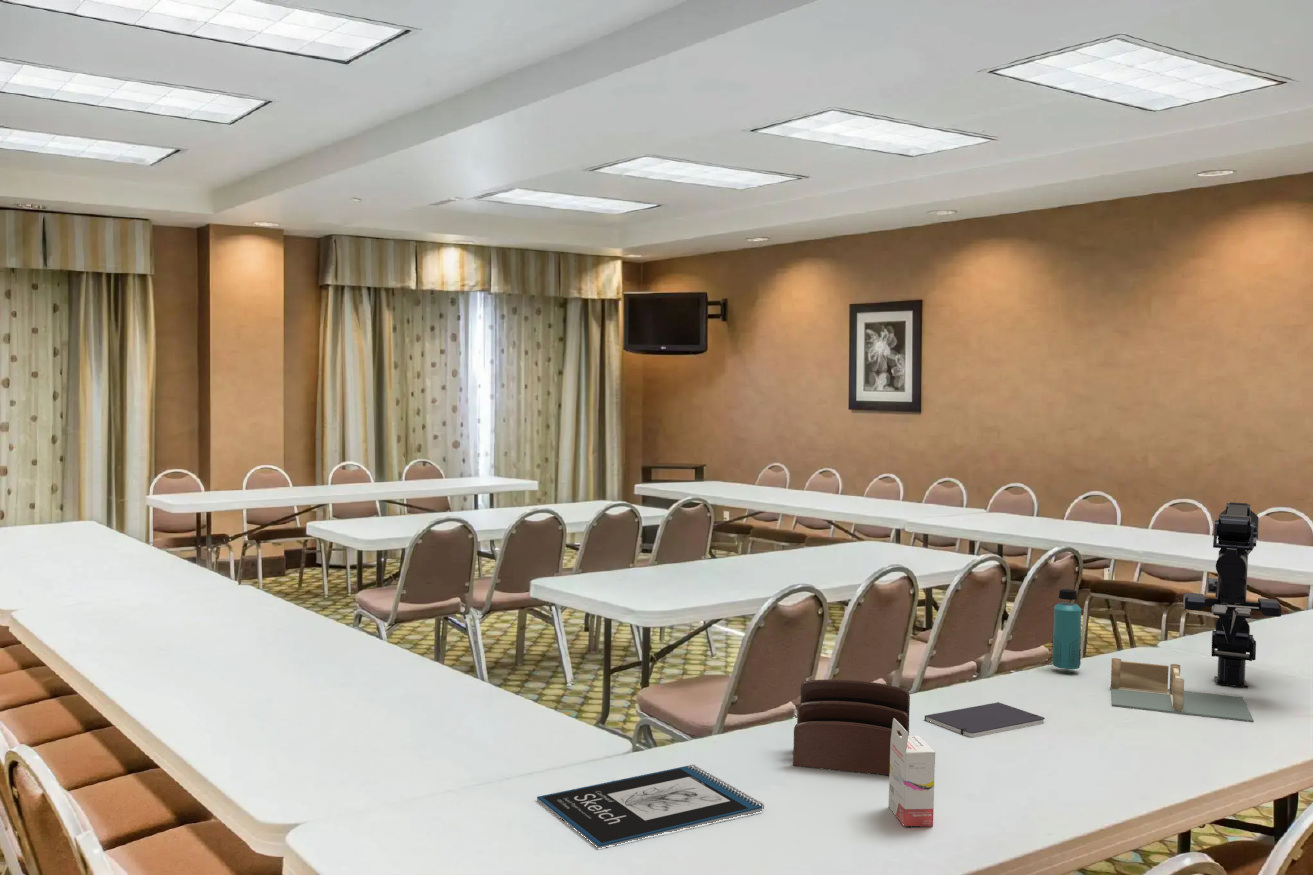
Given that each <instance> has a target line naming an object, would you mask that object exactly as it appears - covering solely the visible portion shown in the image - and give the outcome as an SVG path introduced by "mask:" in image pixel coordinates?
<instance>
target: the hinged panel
mask: <svg viewBox="0 0 1313 875" xmlns="http://www.w3.org/2000/svg"><path fill="white" fill-rule="evenodd" d="M1181 677H1182V676H1181V672H1180V673H1179V670H1178V669H1177V668H1173V688H1172V695H1173V708H1174V709H1179V710H1182V709H1183V701H1184V691H1185V679H1184V678H1181Z"/></svg>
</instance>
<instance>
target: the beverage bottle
mask: <svg viewBox="0 0 1313 875" xmlns="http://www.w3.org/2000/svg"><path fill="white" fill-rule="evenodd" d="M1058 599H1060V600H1066V602H1064V601H1063V602H1062V601H1061V602H1058V603H1057V604H1055V605H1054V607H1053V629H1052V631H1053V632H1052V633H1053V634H1052V652H1051V654H1052V656H1051V658H1052V665H1053V667H1056V668H1059V669H1064V670H1078V669H1080V667H1081V665H1082V662H1081V660H1082V659H1081V657H1082V653H1081V651H1082V608H1081V607H1080V606H1079V605H1078V604H1077V603H1074V602H1067V601H1076V600H1078V593H1077V590H1075V589H1072V588H1071V589H1070V588H1062V589H1059V593H1058Z"/></svg>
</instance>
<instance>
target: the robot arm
mask: <svg viewBox="0 0 1313 875" xmlns="http://www.w3.org/2000/svg"><path fill="white" fill-rule="evenodd" d="M1225 506H1226V507H1225V509H1224V510H1223V511H1222V512H1220V513H1219V515H1218V519H1215V520H1214V530H1213V541H1212V543H1213V544H1212V548H1214V549H1219V550H1218V557H1217V561H1216V562H1215V570H1216V572H1217V578H1214V577H1213V578H1212V577H1208V578H1207V585H1206V586H1207V587H1206V588H1207V589H1206V591H1207V593H1208V594H1215V595H1214V596H1215V598H1208V597H1205V595H1204V593H1195V592H1185V593H1184V594H1183V603H1182V604H1183V608H1184V609H1185V610H1190V611H1202V610H1203V609H1204V608H1211V613H1212V615H1213V616H1214V617H1215V616H1217V617H1218V619H1217V620H1216V623H1215V630H1214V629H1213V630H1212V632H1211V633H1212V634H1211V657H1215V658H1217V675H1214V677H1213V678H1214V681H1215V683H1216V685H1220V686H1230V687H1238V688H1239V687H1241V688H1249V684H1248V682H1247V680H1246V663H1247V662H1246V661H1249V662H1253V661H1256V658H1257V657H1256V653H1257V641H1256V640H1255V638H1254V635H1253V634H1251V629H1250V628H1251V626H1250V624H1249V623H1248V620H1247V619H1251V618H1252V615H1251V611H1256V612H1261V614H1263V615H1264V616H1265V617H1274V618H1275V617H1276V618H1280V617H1282V605H1281V604H1280V602H1279V601H1278V600H1277V599H1275V598H1261V597H1260V598H1257V601H1251V600H1250V601H1249V600H1247V590H1248V588H1247V587H1248V564H1249V563H1248V562H1249V561H1248V560H1249V555H1250V554H1251V552H1252V551H1253V550H1254V548H1255V547H1257V540H1259V528H1260V527H1259V526H1260V524H1259V523H1260V522H1259V518H1260V517H1259V516H1258V515H1257V514H1256V513H1255V512H1253V511H1252V509H1251V504H1248V503H1246V502H1233V501H1231V502H1227V503H1226V504H1225Z"/></svg>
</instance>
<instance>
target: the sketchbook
mask: <svg viewBox="0 0 1313 875" xmlns="http://www.w3.org/2000/svg"><path fill="white" fill-rule="evenodd" d="M536 800H537V802H538V803H539V804H541V805H543V807H545V808H546V807H547V808H546V809H547V810H549V811H550V812H551V811H552V812H553V813H554V814H553V813H552V812H551V813H552V814H553V815H554V816H556V815H557V816H558V817H557V816H556V817H557V818H559V817H560V818H561V819H563V820H564V821H565V822H566V823H568V824H569V825H570V826H571V827H573V828H575V829H576V830H577V831H578V832H580V833H581V834H582V835H583V836H585V837H586V838H587V839H588V840H590V841H591V842H592V843H593V844H594V845H596V846H597V847H598V848H602V847H606V846H609V845H617V844H621V843H625V842H628V841H632V840H638V839H642V838H645V837H648V836H654V835H658V834H662V833H664V832H672V831H677V830H680V829H683V828H690V827H695V826H698V825H702V824H707V823H713V822H716V821H719V820H723V819H729V818H733V817H737V816H741V815H748V814H753V813H756V812H760V811H762V809H764V810H765V805H764V803H763V802H762V801H760V800H758V799H756V798H755V797H752V796H751V795H749V794H747V793H745V792H744V791H742V790H741V789H738V788H736V787H735V786H733V785H731V784H730V783H727V782H726V781H725V780H722V779H720V778H719V777H717V776H715V775H714V774H711V773H710V772H708V771H706V770H704V769H702V768H701V767H699V766H697V765H695V764H694V763H693V764H692V763H691V764H689V765H686V766H680V767H676V768H670V769H667V770H666V769H665V770H660V771H655V772H651V773H646V774H641V775H636V776H631V777H625V778H621V779H617V780H611V781H607V782H601V783H597V784H593V785H588V786H582V787H578V788H573V789H567V790H564V791H557V792H553V793H549V794H544V795H538V796H536ZM762 812H763V811H762ZM560 818H559V819H560ZM561 819H560V820H561ZM564 821H563V822H564ZM565 822H564V823H565ZM566 823H565V824H566ZM569 825H568V826H569ZM570 826H569V827H570ZM571 827H570V828H571ZM583 836H582V837H583ZM588 840H587V841H588ZM593 844H592V845H593ZM594 845H593V846H594ZM598 848H597V849H598Z"/></svg>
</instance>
